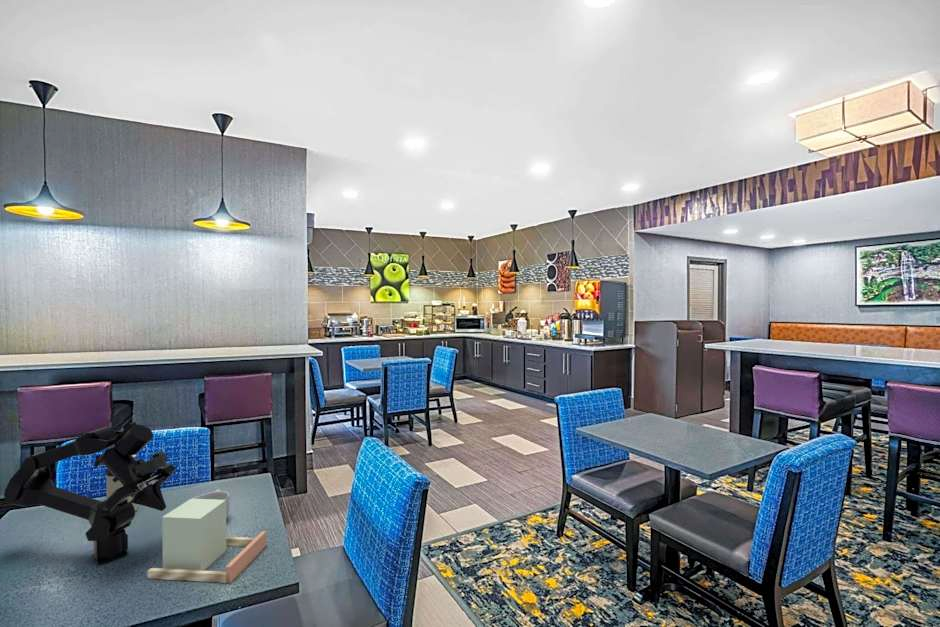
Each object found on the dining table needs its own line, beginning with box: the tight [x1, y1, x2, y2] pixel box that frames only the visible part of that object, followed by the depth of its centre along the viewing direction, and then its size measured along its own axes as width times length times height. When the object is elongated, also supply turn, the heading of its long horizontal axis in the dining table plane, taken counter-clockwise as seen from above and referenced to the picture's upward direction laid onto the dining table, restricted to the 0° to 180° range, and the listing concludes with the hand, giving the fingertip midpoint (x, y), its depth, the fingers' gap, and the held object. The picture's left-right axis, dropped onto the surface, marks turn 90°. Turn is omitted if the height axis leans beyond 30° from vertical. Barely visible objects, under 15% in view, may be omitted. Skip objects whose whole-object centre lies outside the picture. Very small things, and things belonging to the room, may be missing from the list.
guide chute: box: [147, 530, 267, 584], centre depth 123 cm, size 21×17×4 cm
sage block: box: [161, 498, 227, 571], centre depth 123 cm, size 10×11×14 cm
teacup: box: [192, 488, 230, 518], centre depth 145 cm, size 14×11×8 cm
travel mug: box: [105, 454, 139, 512], centre depth 150 cm, size 8×8×18 cm
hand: (164, 509), depth 123 cm, fingers closed
